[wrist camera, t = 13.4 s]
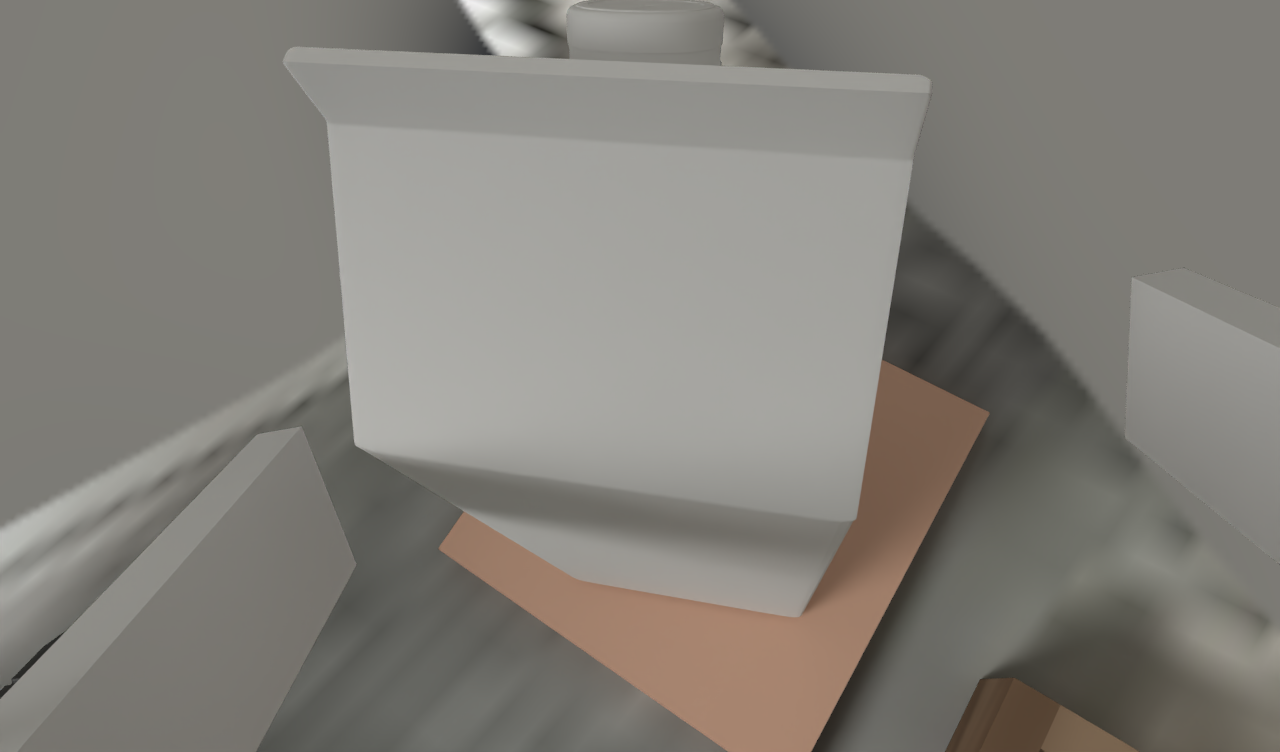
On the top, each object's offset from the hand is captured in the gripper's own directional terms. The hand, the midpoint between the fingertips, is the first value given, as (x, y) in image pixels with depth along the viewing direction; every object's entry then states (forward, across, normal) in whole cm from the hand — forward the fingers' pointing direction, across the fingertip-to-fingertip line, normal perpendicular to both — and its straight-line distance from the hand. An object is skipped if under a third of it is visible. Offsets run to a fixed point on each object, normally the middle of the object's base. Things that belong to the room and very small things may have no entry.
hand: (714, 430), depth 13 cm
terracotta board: (+12, 0, -8) cm, 15 cm away
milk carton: (+11, -1, -8) cm, 14 cm away
